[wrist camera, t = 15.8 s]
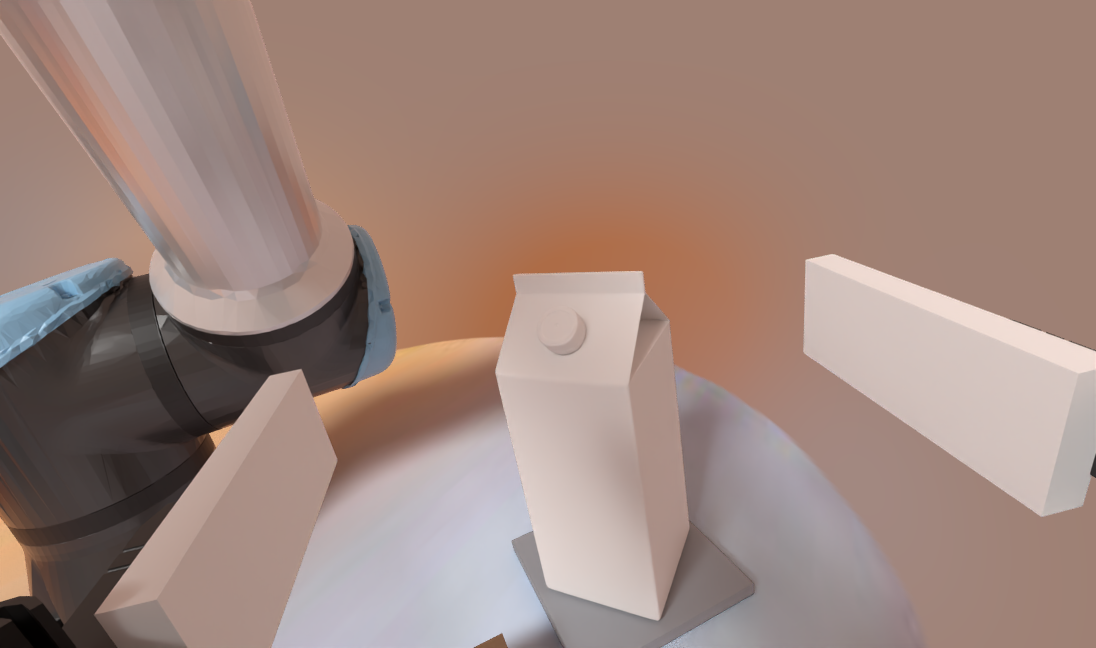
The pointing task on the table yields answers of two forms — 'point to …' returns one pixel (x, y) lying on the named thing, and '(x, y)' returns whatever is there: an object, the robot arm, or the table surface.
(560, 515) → the milk carton
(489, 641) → the walnut holder
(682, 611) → the slate pad
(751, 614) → the table surface
